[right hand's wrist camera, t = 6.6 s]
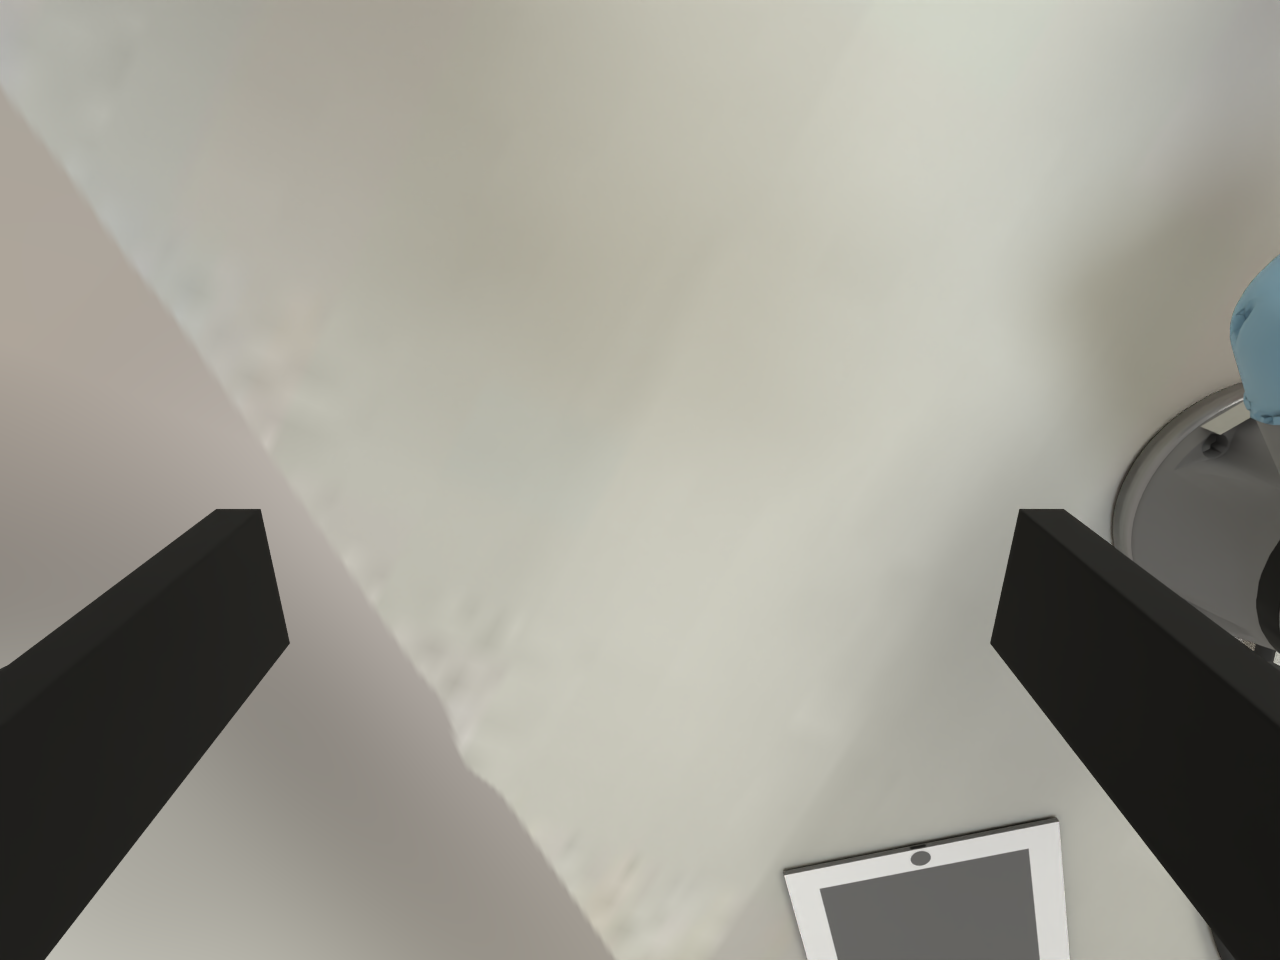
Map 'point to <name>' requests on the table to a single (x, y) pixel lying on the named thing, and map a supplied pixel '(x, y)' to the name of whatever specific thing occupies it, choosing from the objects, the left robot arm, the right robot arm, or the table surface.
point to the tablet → (939, 900)
